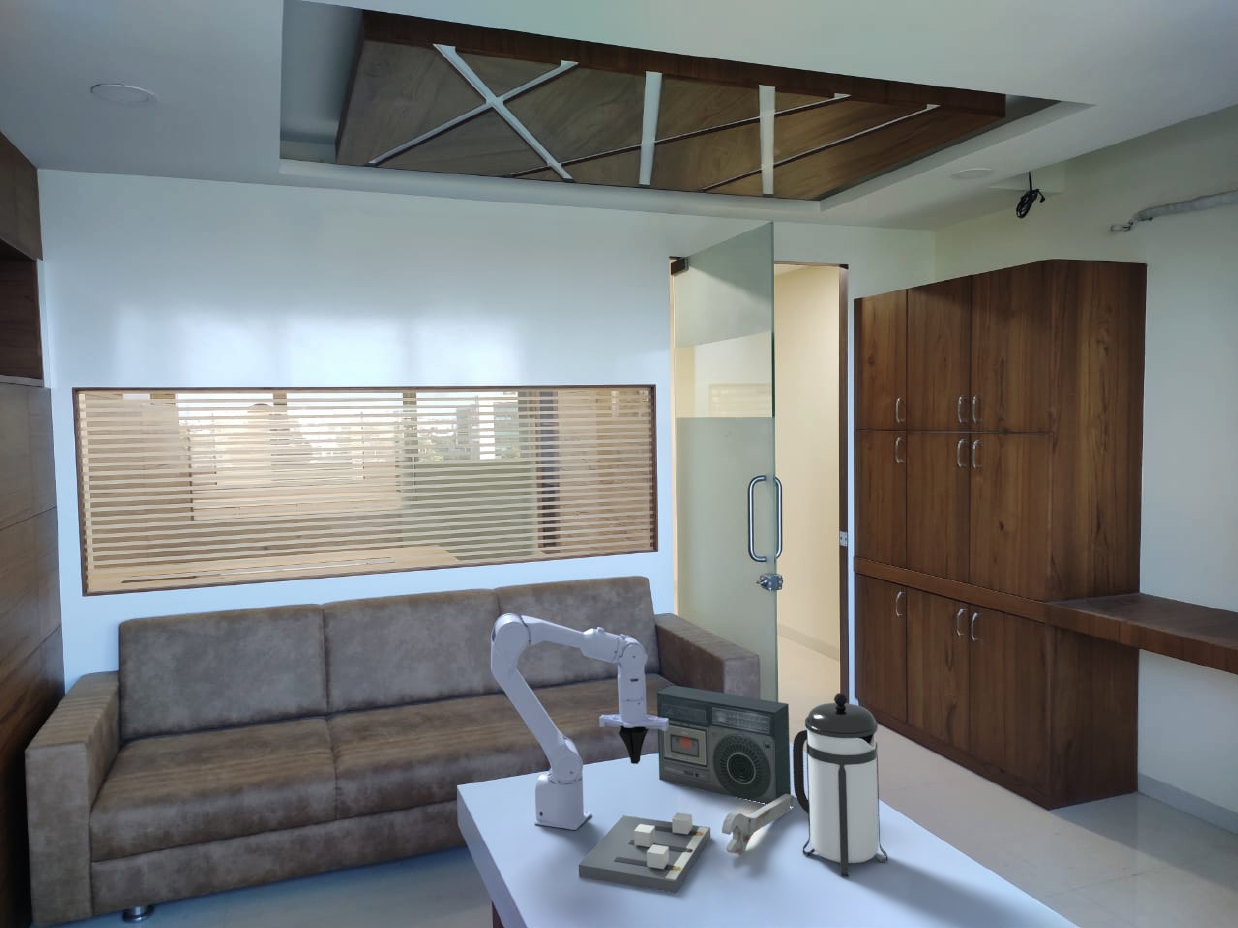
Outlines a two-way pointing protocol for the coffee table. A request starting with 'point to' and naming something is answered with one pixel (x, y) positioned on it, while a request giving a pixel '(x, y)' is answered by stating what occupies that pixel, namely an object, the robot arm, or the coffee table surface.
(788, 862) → the coffee table surface
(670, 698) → the cassette player
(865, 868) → the coffee table surface
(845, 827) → the coffee press
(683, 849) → the switch board
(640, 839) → the white cube
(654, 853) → the switch tab
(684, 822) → the switch tab
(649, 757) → the coffee table surface
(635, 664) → the robot arm
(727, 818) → the wrench
